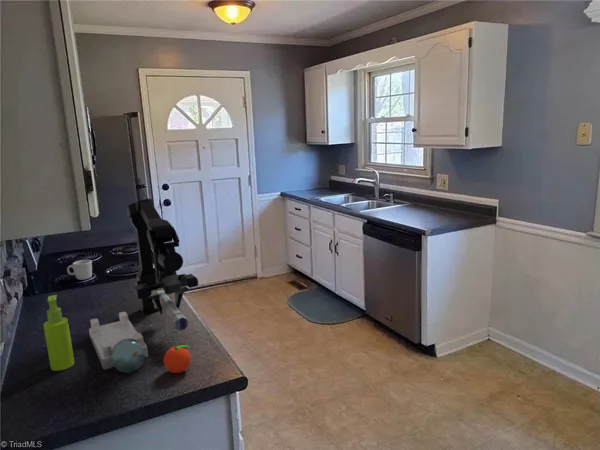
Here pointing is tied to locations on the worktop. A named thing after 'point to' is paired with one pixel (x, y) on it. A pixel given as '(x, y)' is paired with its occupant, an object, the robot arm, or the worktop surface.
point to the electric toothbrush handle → (172, 311)
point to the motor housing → (118, 344)
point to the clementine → (177, 359)
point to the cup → (81, 269)
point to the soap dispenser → (58, 338)
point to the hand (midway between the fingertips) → (169, 311)
